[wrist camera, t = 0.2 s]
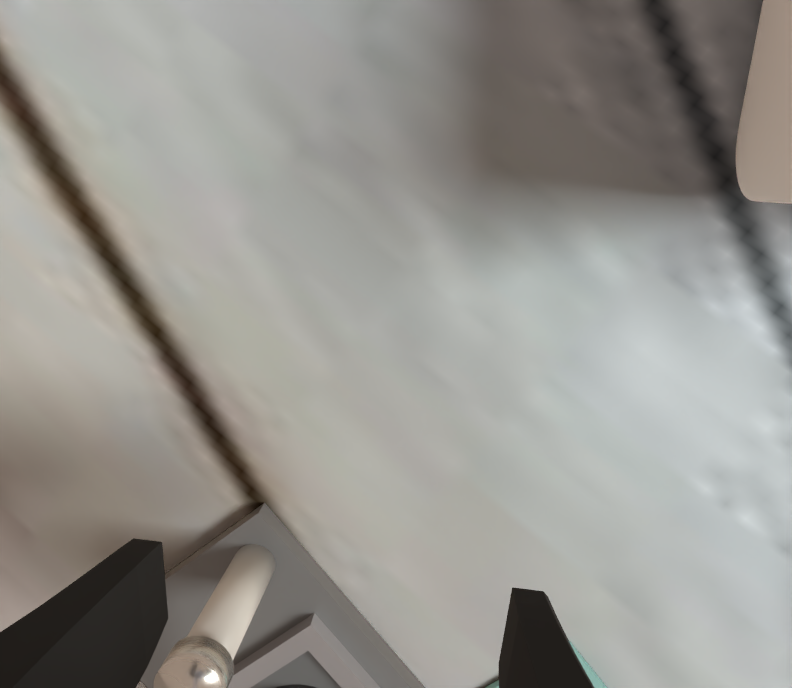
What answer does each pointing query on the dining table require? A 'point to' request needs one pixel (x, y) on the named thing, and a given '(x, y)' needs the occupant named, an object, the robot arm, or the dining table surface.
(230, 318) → the dining table surface
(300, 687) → the plug
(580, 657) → the mat
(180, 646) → the brushed metal lever
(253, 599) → the socket
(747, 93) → the cable organizer
